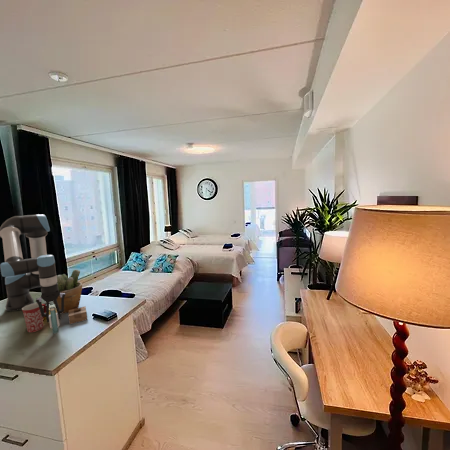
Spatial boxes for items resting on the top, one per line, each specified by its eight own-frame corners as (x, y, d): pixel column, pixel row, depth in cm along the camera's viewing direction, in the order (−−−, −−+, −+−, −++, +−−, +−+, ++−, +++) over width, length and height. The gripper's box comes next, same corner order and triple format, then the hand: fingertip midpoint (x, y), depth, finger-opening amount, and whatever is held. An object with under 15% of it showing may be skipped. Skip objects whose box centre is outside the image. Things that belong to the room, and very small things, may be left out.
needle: (53, 331, 139) (49, 307, 137) (58, 330, 140) (55, 306, 139) (52, 334, 137) (49, 309, 135) (58, 332, 138) (55, 307, 137)
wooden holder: (69, 318, 154) (68, 310, 154) (86, 313, 159) (85, 306, 158) (69, 324, 147) (68, 316, 146) (87, 319, 151) (86, 311, 151)
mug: (35, 334, 138) (31, 310, 136) (21, 333, 140) (17, 309, 138) (54, 322, 150) (51, 300, 148) (41, 321, 152) (38, 299, 150)
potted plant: (66, 317, 155) (61, 278, 152) (44, 314, 161) (38, 276, 158) (90, 304, 172) (86, 268, 169) (70, 302, 178) (65, 267, 175)
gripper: (29, 289, 128) (36, 333, 131) (66, 283, 136) (71, 324, 139) (31, 285, 134) (37, 327, 138) (66, 279, 143) (71, 319, 146)
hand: (54, 326), depth 138 cm, fingers open, 3 cm apart
